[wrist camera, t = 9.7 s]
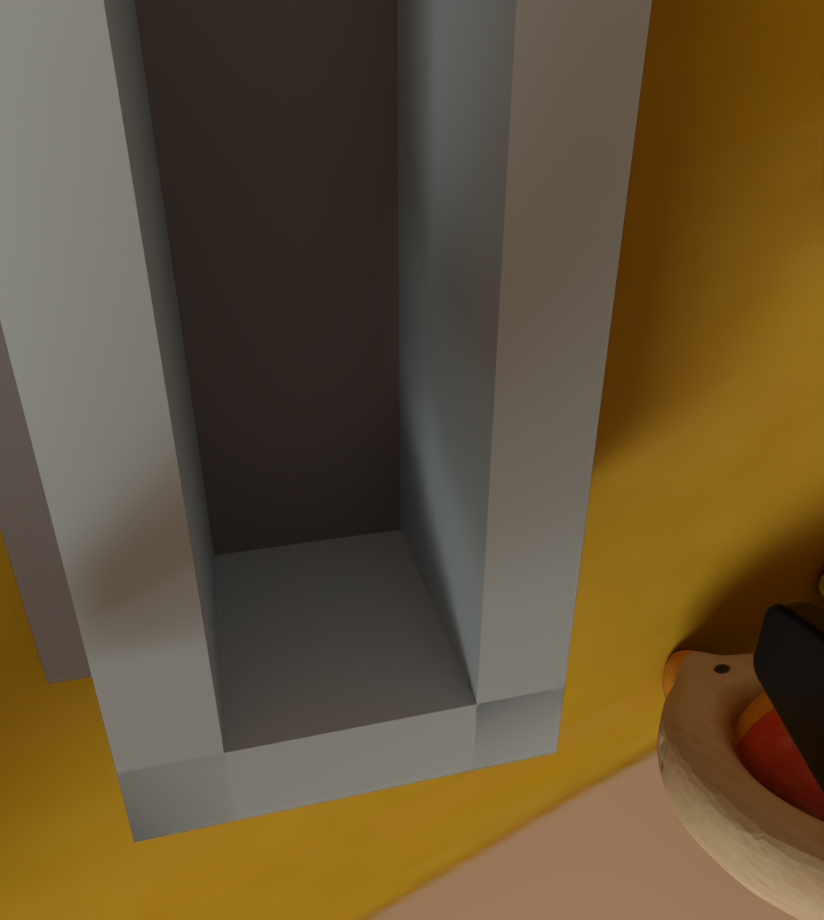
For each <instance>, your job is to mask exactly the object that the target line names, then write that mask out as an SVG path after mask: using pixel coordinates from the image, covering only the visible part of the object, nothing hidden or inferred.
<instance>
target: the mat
mask: <svg viewBox="0 0 824 920" xmlns="http://www.w3.org/2000/svg"><path fill="white" fill-rule="evenodd" d="M134 1H135V8H136V15H137V22H138V29H139V36H140V43H141V50H142V57H143V64H144V71H145V78H146V85H147V92H148V99H149V106H150V113H151V120H152V127H153V134H154V140H155V147H156V154H157V161H158V168H159V175H160V182H161V189H162V196H163V203H164V210H165V217H166V224H167V231H168V238H169V245H170V252H171V259H172V266H173V273H174V280H175V287H176V293H177V300H178V307H179V314H180V321H181V328H182V335H183V342H184V349H185V356H186V363H187V370H188V377H189V384H190V391H191V398H192V405H193V412H194V419H195V426H196V433H197V439H198V446H199V453H200V460H201V467H202V474H203V481H204V488H205V495H206V502H207V509H208V516H209V523H210V530H211V537H212V544H213V551H214V555H220V554H227V553H234V552H242V551H249V550H256V549H263V548H271V547H278V546H285V545H292V544H300V543H307V542H314V541H321V540H329V539H336V538H343V537H350V536H357V535H365V534H372V533H379V532H386V531H394V530H400V406H399V242H398V79H397V0H134ZM0 528H1V532H2V535H3V538H4V542H5V545H6V548H7V551H8V555H9V558H10V561H11V565H12V568H13V571H14V575H15V578H16V581H17V584H18V588H19V591H20V594H21V598H22V601H23V604H24V607H25V611H26V614H27V617H28V621H29V624H30V627H31V631H32V634H33V637H34V640H35V644H36V647H37V650H38V654H39V657H40V660H41V663H42V667H43V670H44V673H45V677H46V680H47V683H54V682H60V681H65V680H71V679H77V678H83V677H89V676H92V675H91V671H90V667H89V663H88V660H87V656H86V652H85V648H84V644H83V640H82V636H81V632H80V628H79V625H78V621H77V617H76V613H75V609H74V605H73V601H72V597H71V593H70V590H69V586H68V582H67V578H66V574H65V570H64V566H63V562H62V558H61V555H60V551H59V547H58V543H57V539H56V535H55V531H54V527H53V523H52V520H51V516H50V512H49V508H48V504H47V500H46V496H45V492H44V489H43V485H42V481H41V477H40V473H39V469H38V465H37V461H36V457H35V454H34V450H33V446H32V442H31V438H30V434H29V430H28V426H27V422H26V419H25V415H24V411H23V407H22V403H21V399H20V395H19V391H18V387H17V384H16V380H15V376H14V372H13V368H12V364H11V360H10V356H9V352H8V349H7V345H6V341H5V337H4V333H3V329H2V325H1V321H0Z"/></svg>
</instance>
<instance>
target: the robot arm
mask: <svg viewBox="0 0 824 920" xmlns="http://www.w3.org/2000/svg"><path fill="white" fill-rule="evenodd" d="M753 666H754V671H755V674H756V676H757V678H758V680H759V682H760V684H761V686H762V687H763V689H764V691H765V693H766V694H767V696H768V698H769V700H770V701H771V703H772V705H773V707H774V708H775V710H776V712H777V714H778V715H779V717H780V719H781V721H782V722H783V724H784V726H785V728H786V730H787V731H788V733H789V735H790V737H791V738H792V740H793V742H794V744H795V745H796V747H797V749H798V751H799V752H800V754H801V756H802V758H803V759H804V761H805V763H806V765H807V766H808V768H809V770H810V772H811V773H812V775H813V777H814V778H815V780H816V782H817V783H818V785H819V787H820V788H821V790H822V791H823V793H824V607H822V606H820V605H817V604H815V603H813V602H810V601H807V600H803V599H796V600H790V601H785V602H779V603H774V604H772V605H770V606H769V607H768V608H767V609H766V611H765V613H764V616H763V620H762V624H761V627H760V631H759V635H758V638H757V642H756V646H755V650H754V653H753Z"/></svg>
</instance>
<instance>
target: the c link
mask: <svg viewBox="0 0 824 920" xmlns="http://www.w3.org/2000/svg"><path fill="white" fill-rule="evenodd" d="M651 5H652V0H397V79H398V242H399V406H400V530H394V531H386V532H379V533H372V534H365V535H357V536H350V537H343V538H336V539H329V540H321V541H314V542H307V543H300V544H292V545H285V546H278V547H271V548H263V549H256V550H249V551H242V552H234V553H227V554H220V555H214V551H213V544H212V537H211V530H210V523H209V516H208V509H207V502H206V495H205V488H204V481H203V474H202V467H201V460H200V453H199V446H198V439H197V433H196V426H195V419H194V412H193V405H192V398H191V391H190V384H189V377H188V370H187V363H186V356H185V349H184V342H183V335H182V328H181V321H180V314H179V307H178V300H177V293H176V287H175V280H174V273H173V266H172V259H171V252H170V245H169V238H168V231H167V224H166V217H165V210H164V203H163V196H162V189H161V182H160V175H159V168H158V161H157V154H156V147H155V140H154V134H153V127H152V120H151V113H150V106H149V99H148V92H147V85H146V78H145V71H144V64H143V57H142V50H141V43H140V36H139V29H138V22H137V15H136V8H135V1H134V0H0V321H1V325H2V329H3V333H4V337H5V341H6V345H7V349H8V352H9V356H10V360H11V364H12V368H13V372H14V376H15V380H16V384H17V387H18V391H19V395H20V399H21V403H22V407H23V411H24V415H25V419H26V422H27V426H28V430H29V434H30V438H31V442H32V446H33V450H34V454H35V457H36V461H37V465H38V469H39V473H40V477H41V481H42V485H43V489H44V492H45V496H46V500H47V504H48V508H49V512H50V516H51V520H52V523H53V527H54V531H55V535H56V539H57V543H58V547H59V551H60V555H61V558H62V562H63V566H64V570H65V574H66V578H67V582H68V586H69V590H70V593H71V597H72V601H73V605H74V609H75V613H76V617H77V621H78V625H79V628H80V632H81V636H82V640H83V644H84V648H85V652H86V656H87V660H88V663H89V667H90V671H91V675H92V679H93V683H94V687H95V691H96V695H97V698H98V702H99V706H100V710H101V714H102V718H103V722H104V726H105V729H106V733H107V737H108V741H109V745H110V749H111V753H112V757H113V761H114V764H115V768H116V772H117V776H118V780H119V784H120V788H121V792H122V796H123V799H124V803H125V807H126V811H127V815H128V819H129V823H130V827H131V831H132V834H133V838H134V842H136V841H141V840H146V839H150V838H155V837H160V836H164V835H169V834H174V833H178V832H183V831H188V830H193V829H197V828H202V827H207V826H211V825H216V824H221V823H225V822H230V821H235V820H240V819H244V818H249V817H254V816H258V815H263V814H268V813H272V812H277V811H282V810H287V809H291V808H296V807H301V806H305V805H310V804H315V803H320V802H324V801H329V800H334V799H338V798H343V797H348V796H352V795H357V794H362V793H367V792H371V791H376V790H381V789H385V788H390V787H395V786H399V785H404V784H409V783H414V782H418V781H423V780H428V779H432V778H437V777H442V776H446V775H451V774H456V773H461V772H465V771H470V770H475V769H479V768H484V767H489V766H493V765H498V764H503V763H508V762H512V761H517V760H522V759H526V758H531V757H536V756H541V755H545V754H550V753H555V752H556V750H557V742H558V734H559V726H560V718H561V710H562V703H563V695H564V687H565V679H566V671H567V663H568V656H569V648H570V640H571V632H572V624H573V616H574V609H575V601H576V593H577V585H578V577H579V569H580V562H581V554H582V546H583V538H584V530H585V522H586V515H587V507H588V499H589V491H590V483H591V475H592V468H593V460H594V452H595V444H596V436H597V428H598V420H599V413H600V405H601V397H602V389H603V381H604V373H605V366H606V358H607V350H608V342H609V334H610V326H611V319H612V311H613V303H614V295H615V287H616V279H617V272H618V264H619V256H620V248H621V240H622V232H623V225H624V217H625V209H626V201H627V193H628V185H629V178H630V170H631V162H632V154H633V146H634V138H635V131H636V123H637V115H638V107H639V99H640V91H641V84H642V76H643V68H644V60H645V52H646V44H647V37H648V29H649V21H650V13H651Z"/></svg>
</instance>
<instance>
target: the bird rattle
mask: <svg viewBox="0 0 824 920" xmlns="http://www.w3.org/2000/svg"><path fill="white" fill-rule="evenodd" d="M819 590H820V592H821V594H822V595H823V597H824V573H823V575H822V577H821V579H820V583H819ZM663 689H664V694H665V698H666V700H665V703H664V707H663V710H662V715H661V720H660V725H659V731H658V739H657V754H658V761H659V768H660V773H661V777H662V781H663V784H664V786H665V790H666V792H667V795H668V797H669V799H670V801H671V803H672V805H673V807H674V809H675V811H676V813H677V815H678V817H679V818H680V820H681V821H682V823H683V824H684V826H685V827H686V828H687V830H688V831H689V832H690V834H691V835H692V836H693V837H694V839H695V840H696V841H697V842H698V843H699V844H700V845H701V847H702V848H703V849H704V850H705V851H706V852H707V853H708V854H709V855H710V856H711V857H712V858H713V859H714V860H716V862H717V863H719V864H720V865H721V866H722V867H723V868H724V869H725V870H726V871H727V872H728V873H729V874H731V875H732V876H733V877H734V878H735V879H736V880H737V881H739V882H740V883H741V884H742V885H744V886H745V887H746V888H748V889H749V890H750V891H752V892H753V893H754V894H756V895H757V896H759V897H761V898H762V899H763V900H765V901H767V902H769V903H770V904H772V905H774V906H775V907H777V908H779V909H781V910H782V911H784V912H786V913H788V914H790V915H791V916H793V917H795V918H797V919H799V920H824V793H823V791H822V790H821V788H820V787H819V785H818V783H817V782H816V780H815V778H814V777H813V775H812V773H811V772H810V770H809V768H808V766H807V765H806V763H805V761H804V759H803V758H802V756H801V754H800V752H799V751H798V749H797V747H796V745H795V744H794V742H793V740H792V738H791V737H790V735H789V733H788V731H787V730H786V728H785V726H784V724H783V722H782V721H781V719H780V717H779V715H778V714H777V712H776V710H775V708H774V707H773V705H772V703H771V701H770V700H769V698H768V696H767V694H766V693H765V691H764V689H763V687H762V686H761V684H760V682H759V680H758V678H757V676H756V674H755V671H754V666H753V653H748V654H736V655H716V654H710V653H706V652H701V651H693V650H682V651H678V652H675V653H673V654H672V655H671V656H670V657H669V659H668V660H667V662H666V665H665V669H664V673H663Z"/></svg>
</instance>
